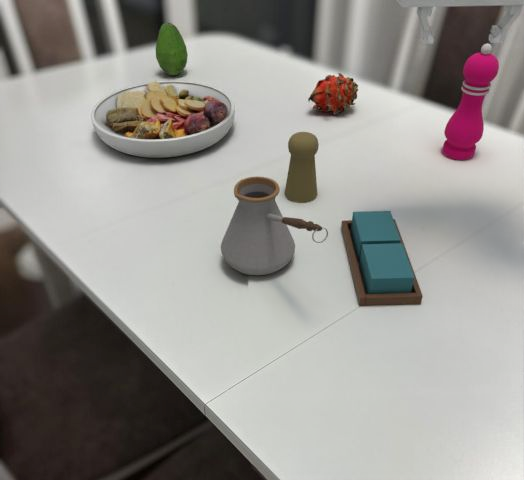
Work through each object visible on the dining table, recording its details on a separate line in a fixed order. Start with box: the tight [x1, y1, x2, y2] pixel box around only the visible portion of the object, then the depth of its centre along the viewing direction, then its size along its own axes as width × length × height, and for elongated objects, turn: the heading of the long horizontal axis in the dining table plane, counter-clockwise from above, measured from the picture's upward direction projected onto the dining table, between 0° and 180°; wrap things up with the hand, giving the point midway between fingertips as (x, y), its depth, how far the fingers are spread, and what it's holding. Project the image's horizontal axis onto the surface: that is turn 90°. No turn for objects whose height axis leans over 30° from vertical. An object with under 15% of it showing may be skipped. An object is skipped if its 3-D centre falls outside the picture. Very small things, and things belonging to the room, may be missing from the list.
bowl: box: [90, 80, 236, 159], centre depth 112 cm, size 30×30×8 cm
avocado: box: [155, 21, 189, 76], centre depth 133 cm, size 8×8×12 cm
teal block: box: [359, 243, 415, 294], centre depth 77 cm, size 6×8×4 cm
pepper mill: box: [441, 43, 500, 161], centre depth 100 cm, size 7×7×20 cm
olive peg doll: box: [284, 131, 319, 204], centre depth 93 cm, size 6×6×11 cm
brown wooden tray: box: [340, 218, 423, 307], centre depth 81 cm, size 9×19×2 cm, turn 2°
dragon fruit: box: [307, 72, 359, 116], centre depth 118 cm, size 8×8×12 cm
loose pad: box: [350, 210, 401, 262], centre depth 83 cm, size 6×8×4 cm
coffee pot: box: [220, 175, 329, 276], centre depth 75 cm, size 21×12×15 cm, turn 31°
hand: (460, 42), depth 72 cm, fingers open, 8 cm apart
